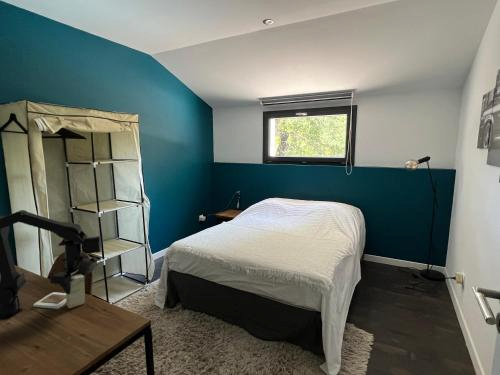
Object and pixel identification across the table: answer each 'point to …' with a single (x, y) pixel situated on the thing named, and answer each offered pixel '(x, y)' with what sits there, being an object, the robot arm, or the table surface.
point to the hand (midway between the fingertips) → (75, 289)
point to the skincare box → (76, 291)
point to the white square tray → (52, 301)
